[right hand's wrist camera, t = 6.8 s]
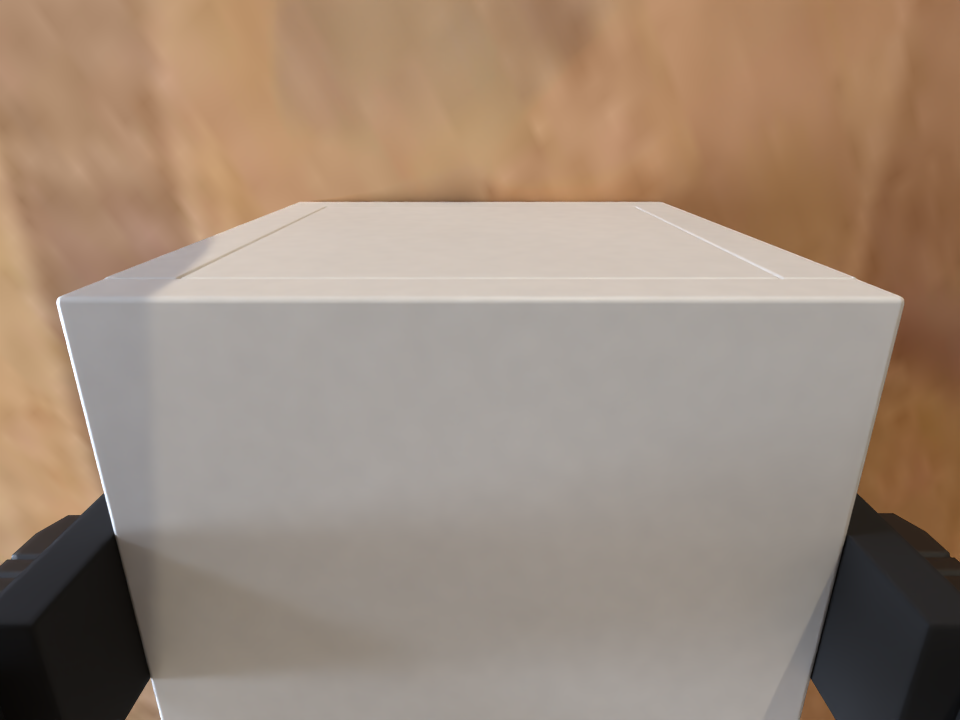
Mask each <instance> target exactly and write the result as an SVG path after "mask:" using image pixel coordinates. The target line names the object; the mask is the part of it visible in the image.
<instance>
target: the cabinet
mask: <svg viewBox="0 0 960 720" xmlns="http://www.w3.org/2000/svg"><path fill="white" fill-rule="evenodd" d="M57 307H58V311H59V315H60V319H61V323H62V327H63V331H64V335H65V339H66V343H67V347H68V351H69V355H70V359H71V363H72V367H73V371H74V375H75V379H76V383H77V387H78V391H79V394H80V398H81V402H82V406H83V410H84V414H85V418H86V422H87V426H88V430H89V434H90V438H91V442H92V446H93V450H94V454H95V458H96V462H97V466H98V470H99V474H100V478H101V482H102V486H103V490H104V494H105V498H106V502H107V506H108V510H109V514H110V518H111V522H112V526H113V530H114V534H115V538H116V542H117V546H118V550H119V554H120V557H121V561H122V565H123V569H124V573H125V577H126V581H127V585H128V589H129V593H130V597H131V601H132V605H133V609H134V613H135V617H136V621H137V625H138V629H139V633H140V637H141V641H142V645H143V649H144V653H145V657H146V661H147V665H148V669H149V673H150V677H151V681H152V685H153V689H154V693H155V697H156V701H157V705H158V709H159V713H160V717H161V720H800V717H801V713H802V709H803V705H804V701H805V697H806V693H807V689H808V685H809V681H810V677H811V673H812V669H813V665H814V661H815V657H816V653H817V649H818V645H819V641H820V637H821V633H822V629H823V625H824V621H825V617H826V613H827V609H828V605H829V601H830V598H831V594H832V590H833V586H834V582H835V578H836V574H837V570H838V566H839V562H840V558H841V554H842V550H843V546H844V542H845V538H846V534H847V530H848V526H849V522H850V518H851V514H852V510H853V506H854V502H855V498H856V494H857V490H858V486H859V482H860V478H861V474H862V470H863V466H864V462H865V458H866V454H867V450H868V446H869V442H870V438H871V434H872V430H873V426H874V422H875V418H876V415H877V411H878V407H879V403H880V399H881V395H882V391H883V387H884V383H885V379H886V375H887V371H888V367H889V363H890V359H891V355H892V351H893V347H894V343H895V339H896V335H897V331H898V327H899V323H900V319H901V315H902V311H903V307H904V299H903V298H902V297H900V296H898V295H896V294H893V293H891V292H888V291H886V290H883V289H880V288H878V287H875V286H873V285H870V284H868V283H865V282H863V281H860V280H858V279H856V278H855V277H853V276H850V275H847V274H845V273H842V272H840V271H837V270H835V269H832V268H829V267H827V266H824V265H822V264H819V263H817V262H814V261H812V260H809V259H806V258H804V257H801V256H799V255H796V254H794V253H791V252H789V251H786V250H783V249H781V248H778V247H776V246H773V245H771V244H768V243H765V242H763V241H760V240H758V239H755V238H753V237H750V236H748V235H745V234H742V233H740V232H737V231H735V230H732V229H730V228H727V227H724V226H722V225H719V224H717V223H714V222H712V221H709V220H707V219H704V218H701V217H699V216H696V215H694V214H691V213H689V212H686V211H683V210H681V209H678V208H676V207H673V206H671V205H668V204H666V203H663V202H299V203H296V204H293V205H291V206H288V207H286V208H283V209H281V210H278V211H276V212H273V213H270V214H268V215H265V216H263V217H260V218H258V219H255V220H253V221H250V222H247V223H245V224H242V225H240V226H237V227H235V228H232V229H229V230H227V231H224V232H222V233H219V234H217V235H214V236H211V237H209V238H206V239H204V240H201V241H199V242H196V243H193V244H191V245H188V246H186V247H183V248H181V249H178V250H176V251H173V252H170V253H168V254H165V255H163V256H160V257H158V258H155V259H152V260H150V261H147V262H145V263H142V264H140V265H137V266H134V267H132V268H129V269H127V270H124V271H122V272H119V273H116V274H114V275H111V276H109V277H106V278H105V279H103V280H101V281H98V282H96V283H93V284H91V285H88V286H86V287H83V288H80V289H78V290H75V291H73V292H70V293H68V294H65V295H63V296H60V297H59V298H58V299H57Z"/></svg>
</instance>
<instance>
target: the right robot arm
mask: <svg viewBox="0 0 960 720" xmlns="http://www.w3.org/2000/svg"><path fill="white" fill-rule="evenodd" d="M810 678H811V680H812V681H813V683H814V685H815V686H816V688H817V689H818V691H819V693H820V694H821V696H822V698H823V699H824V701H825V703H826V704H827V706H828V708H829V709H830V711H831V713H832V714H833V716H834V718H835V719H836V720H960V562H959V561H958V560H957V559H955V558H951V557H950V553H949V552H948V551H947V550H945V549H944V548H943V547H942V546H941V545H940V544H939V543H938V542H937V541H935V540H934V539H933V538H932V537H931V536H930V535H929V534H928V533H926V532H925V531H923V530H922V529H920V528H918V527H916V526H915V525H913V524H911V523H909V522H908V521H906V520H904V519H902V518H901V517H899V516H897V515H895V514H893V513H877V512H876V511H875V510H874V509H873V508H872V507H871V506H870V505H869V504H868V503H867V502H866V501H864V500H863V499H862V498H861V497H860V496H859V495H858V494H856V498H855V502H854V506H853V510H852V514H851V518H850V522H849V526H848V530H847V534H846V538H845V542H844V546H843V550H842V554H841V558H840V562H839V566H838V570H837V574H836V578H835V582H834V586H833V590H832V594H831V598H830V601H829V605H828V609H827V613H826V617H825V621H824V625H823V629H822V633H821V637H820V641H819V645H818V649H817V653H816V657H815V661H814V665H813V669H812V673H811V677H810ZM149 679H150V673H149V669H148V665H147V661H146V657H145V653H144V649H143V645H142V641H141V637H140V633H139V629H138V625H137V621H136V617H135V613H134V609H133V605H132V601H131V597H130V593H129V589H128V585H127V581H126V577H125V573H124V569H123V565H122V561H121V557H120V554H119V550H118V546H117V542H116V538H115V534H114V530H113V526H112V522H111V518H110V514H109V510H108V506H107V502H106V498H105V494H102V495H101V496H100V497H99V498H98V499H97V500H96V501H95V502H94V503H93V504H92V505H91V506H90V507H89V508H88V509H87V510H86V511H85V512H84V513H83V514H82V515H68V516H66V517H64V518H63V519H61V520H59V521H57V522H55V523H54V524H52V525H50V526H48V527H47V528H45V529H43V530H41V531H40V532H38V533H36V534H35V535H34V536H33V537H32V538H31V539H29V540H28V541H27V542H26V543H25V544H24V545H23V546H22V547H21V548H19V549H18V550H17V551H16V552H15V553H14V554H13V555H12V559H11V560H6V561H5V562H4V563H3V564H2V565H1V566H0V720H125V719H126V717H127V715H128V714H129V712H130V710H131V709H132V707H133V705H134V704H135V702H136V700H137V699H138V697H139V696H140V694H141V692H142V691H143V689H144V687H145V686H146V684H147V682H148V681H149Z"/></svg>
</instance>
